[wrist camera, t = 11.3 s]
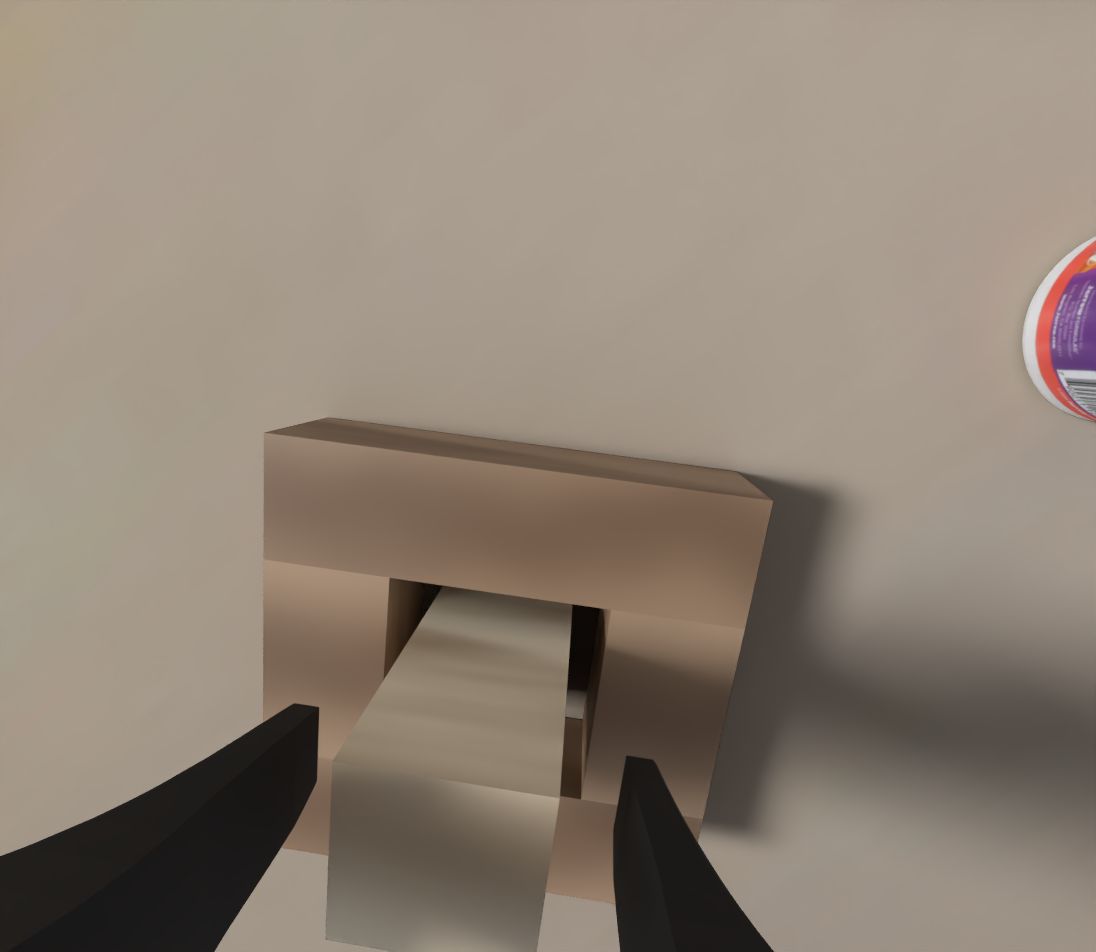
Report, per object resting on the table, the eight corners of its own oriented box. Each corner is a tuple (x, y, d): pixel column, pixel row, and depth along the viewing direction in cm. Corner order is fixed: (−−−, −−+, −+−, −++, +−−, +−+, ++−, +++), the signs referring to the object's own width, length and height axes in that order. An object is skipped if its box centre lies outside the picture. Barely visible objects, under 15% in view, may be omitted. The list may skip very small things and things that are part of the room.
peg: (558, 689, 19) (533, 976, 10) (446, 671, 19) (325, 939, 10) (573, 583, 18) (559, 798, 9) (455, 566, 18) (332, 761, 9)
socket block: (665, 818, 20) (681, 915, 16) (317, 762, 20) (263, 844, 17) (736, 471, 17) (773, 500, 13) (327, 417, 17) (264, 432, 14)
